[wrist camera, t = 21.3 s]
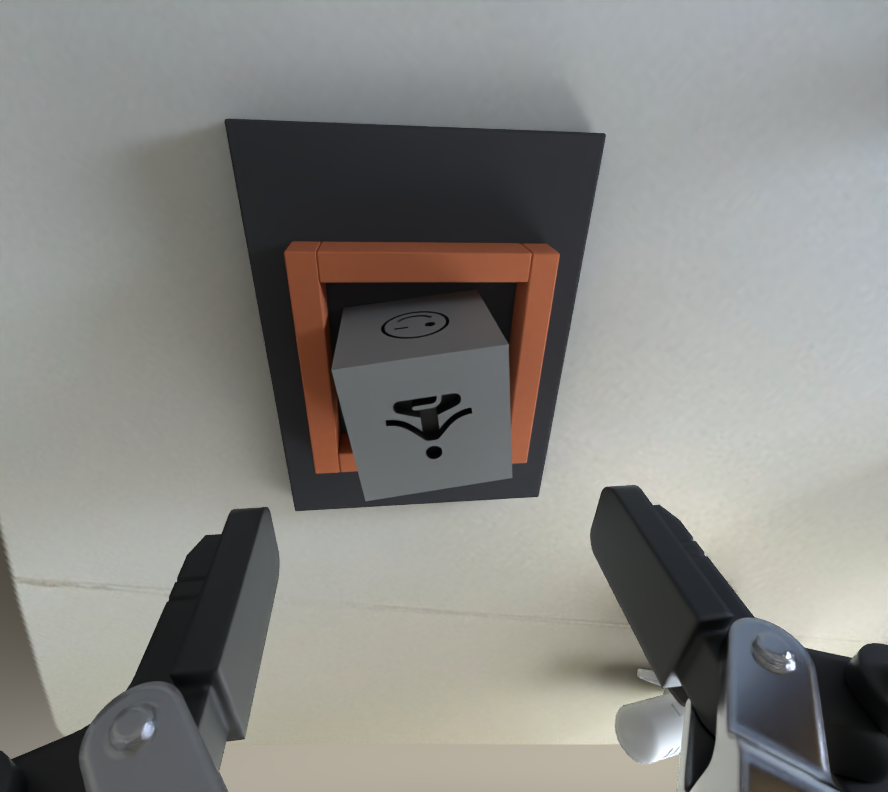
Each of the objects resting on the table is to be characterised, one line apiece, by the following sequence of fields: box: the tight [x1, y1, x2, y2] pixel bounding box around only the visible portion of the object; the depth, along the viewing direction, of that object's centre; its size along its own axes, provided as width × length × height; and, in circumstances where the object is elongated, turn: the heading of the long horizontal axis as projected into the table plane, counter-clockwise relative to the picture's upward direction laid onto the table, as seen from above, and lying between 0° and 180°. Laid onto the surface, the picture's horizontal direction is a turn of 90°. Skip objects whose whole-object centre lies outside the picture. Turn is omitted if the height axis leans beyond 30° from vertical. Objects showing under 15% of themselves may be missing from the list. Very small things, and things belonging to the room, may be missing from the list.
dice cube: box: [331, 289, 512, 501], centre depth 16 cm, size 5×5×5 cm
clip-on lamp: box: [615, 669, 688, 764], centre depth 33 cm, size 12×6×18 cm
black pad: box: [225, 119, 606, 511], centre depth 18 cm, size 12×16×2 cm
